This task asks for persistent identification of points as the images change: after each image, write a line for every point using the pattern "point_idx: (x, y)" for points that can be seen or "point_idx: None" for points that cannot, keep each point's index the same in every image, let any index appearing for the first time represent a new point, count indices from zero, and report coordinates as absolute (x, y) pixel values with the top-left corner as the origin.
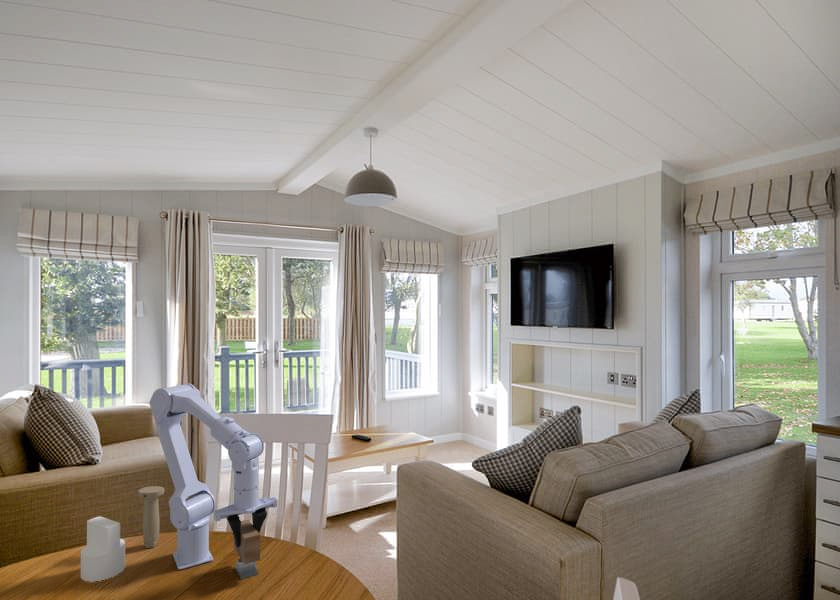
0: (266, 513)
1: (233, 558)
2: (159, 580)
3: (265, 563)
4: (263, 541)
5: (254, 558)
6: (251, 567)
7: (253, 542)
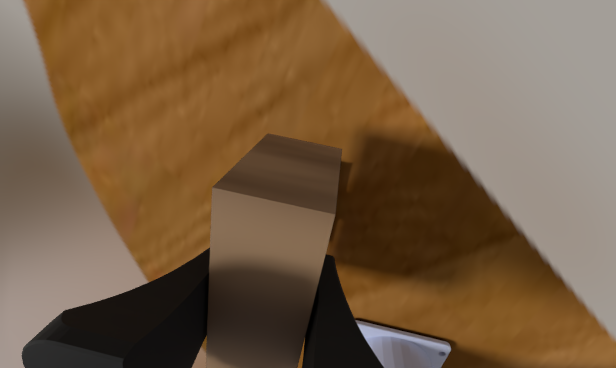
0: (33, 339)
1: None
2: (518, 335)
3: None
4: None
5: (291, 143)
6: None
7: (277, 177)
